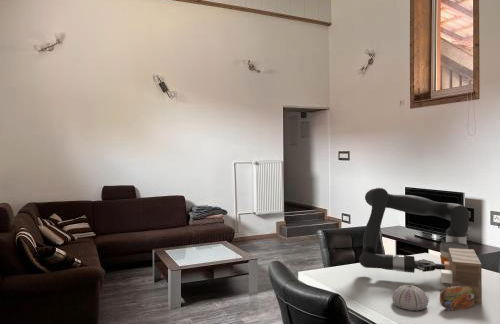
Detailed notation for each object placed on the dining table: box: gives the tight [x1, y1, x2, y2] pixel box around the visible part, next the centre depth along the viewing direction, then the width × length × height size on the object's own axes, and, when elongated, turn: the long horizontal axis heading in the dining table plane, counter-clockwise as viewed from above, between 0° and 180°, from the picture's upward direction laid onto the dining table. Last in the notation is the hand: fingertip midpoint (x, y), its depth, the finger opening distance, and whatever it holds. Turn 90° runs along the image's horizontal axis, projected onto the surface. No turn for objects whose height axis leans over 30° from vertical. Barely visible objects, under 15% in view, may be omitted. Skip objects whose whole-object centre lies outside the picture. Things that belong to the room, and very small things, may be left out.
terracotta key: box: [444, 261, 450, 270], centre depth 175 cm, size 5×7×4 cm
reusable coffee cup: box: [439, 241, 469, 264], centre depth 189 cm, size 13×13×15 cm
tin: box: [439, 285, 476, 312], centre depth 150 cm, size 15×3×8 cm, turn 105°
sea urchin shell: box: [391, 284, 430, 312], centre depth 153 cm, size 13×14×8 cm
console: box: [448, 248, 483, 305], centre depth 166 cm, size 24×10×16 cm, turn 157°
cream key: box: [440, 270, 452, 284], centre depth 163 cm, size 5×7×4 cm
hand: (444, 267), depth 176 cm, fingers closed
